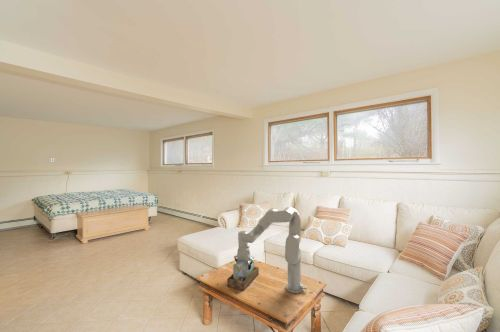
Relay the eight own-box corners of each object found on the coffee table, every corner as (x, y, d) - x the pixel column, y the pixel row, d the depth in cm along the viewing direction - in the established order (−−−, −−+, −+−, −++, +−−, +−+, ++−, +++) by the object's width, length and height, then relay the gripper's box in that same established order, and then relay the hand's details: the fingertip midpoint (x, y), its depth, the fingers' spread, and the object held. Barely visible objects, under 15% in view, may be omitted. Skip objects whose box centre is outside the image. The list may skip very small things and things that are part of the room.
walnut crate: (258, 274, 196) (258, 267, 195) (243, 290, 171) (243, 282, 171) (243, 271, 202) (243, 264, 201) (227, 286, 177) (227, 279, 177)
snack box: (238, 286, 176) (238, 266, 176) (233, 284, 179) (232, 264, 179) (254, 274, 193) (254, 256, 193) (249, 272, 196) (248, 255, 196)
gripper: (255, 246, 185) (255, 268, 186) (236, 244, 193) (236, 264, 193) (251, 250, 179) (251, 272, 179) (231, 247, 186) (232, 268, 186)
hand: (244, 268), depth 186 cm, fingers open, 9 cm apart
